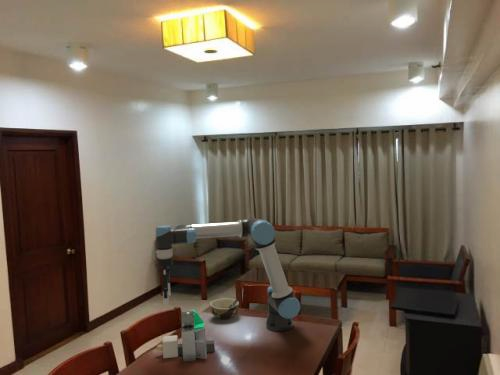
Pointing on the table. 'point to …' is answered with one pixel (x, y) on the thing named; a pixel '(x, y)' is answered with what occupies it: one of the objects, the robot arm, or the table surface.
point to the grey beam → (178, 346)
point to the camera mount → (197, 321)
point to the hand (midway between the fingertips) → (167, 300)
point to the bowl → (224, 307)
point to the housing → (192, 338)
